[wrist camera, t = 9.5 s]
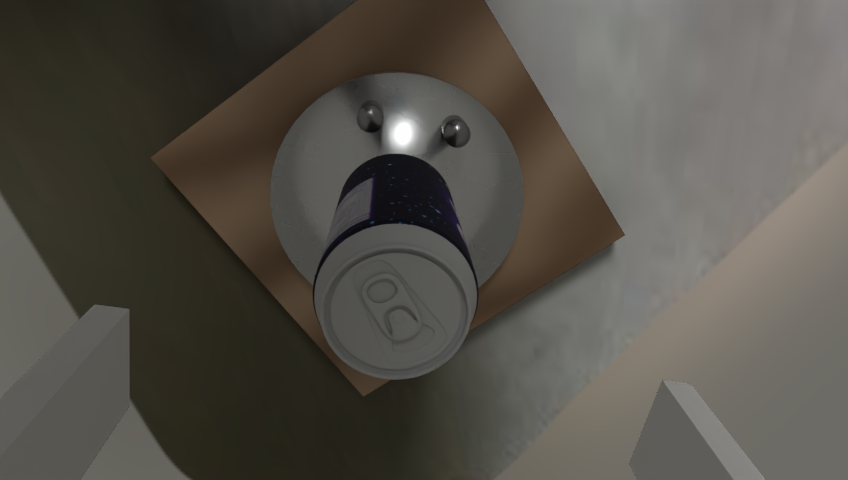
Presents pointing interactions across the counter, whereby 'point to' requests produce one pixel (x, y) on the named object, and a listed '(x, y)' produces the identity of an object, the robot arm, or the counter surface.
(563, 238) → the base plate
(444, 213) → the beverage can
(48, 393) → the robot arm
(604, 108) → the counter surface
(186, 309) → the counter surface
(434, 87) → the flange
